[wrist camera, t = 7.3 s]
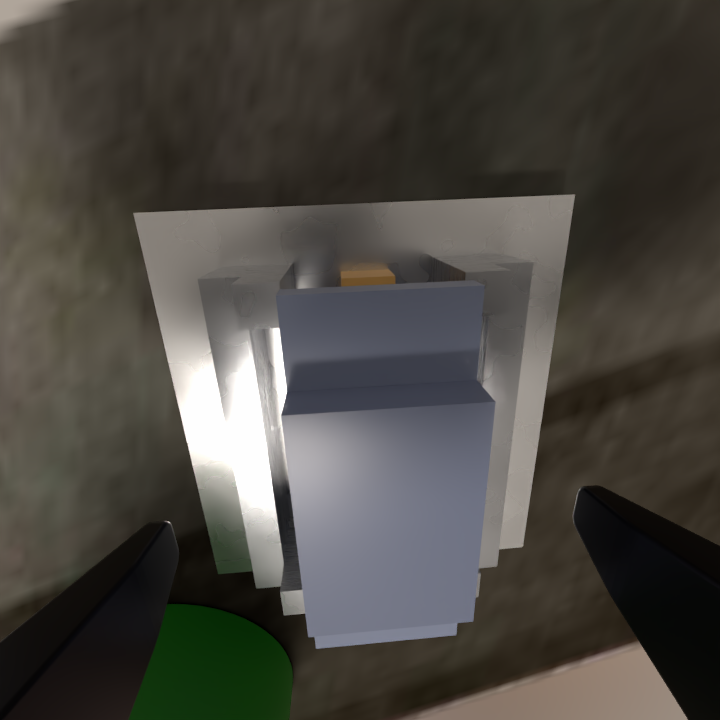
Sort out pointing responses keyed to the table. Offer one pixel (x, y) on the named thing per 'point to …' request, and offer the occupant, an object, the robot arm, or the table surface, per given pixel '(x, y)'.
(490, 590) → the table surface
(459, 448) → the block
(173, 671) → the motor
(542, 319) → the chassis
